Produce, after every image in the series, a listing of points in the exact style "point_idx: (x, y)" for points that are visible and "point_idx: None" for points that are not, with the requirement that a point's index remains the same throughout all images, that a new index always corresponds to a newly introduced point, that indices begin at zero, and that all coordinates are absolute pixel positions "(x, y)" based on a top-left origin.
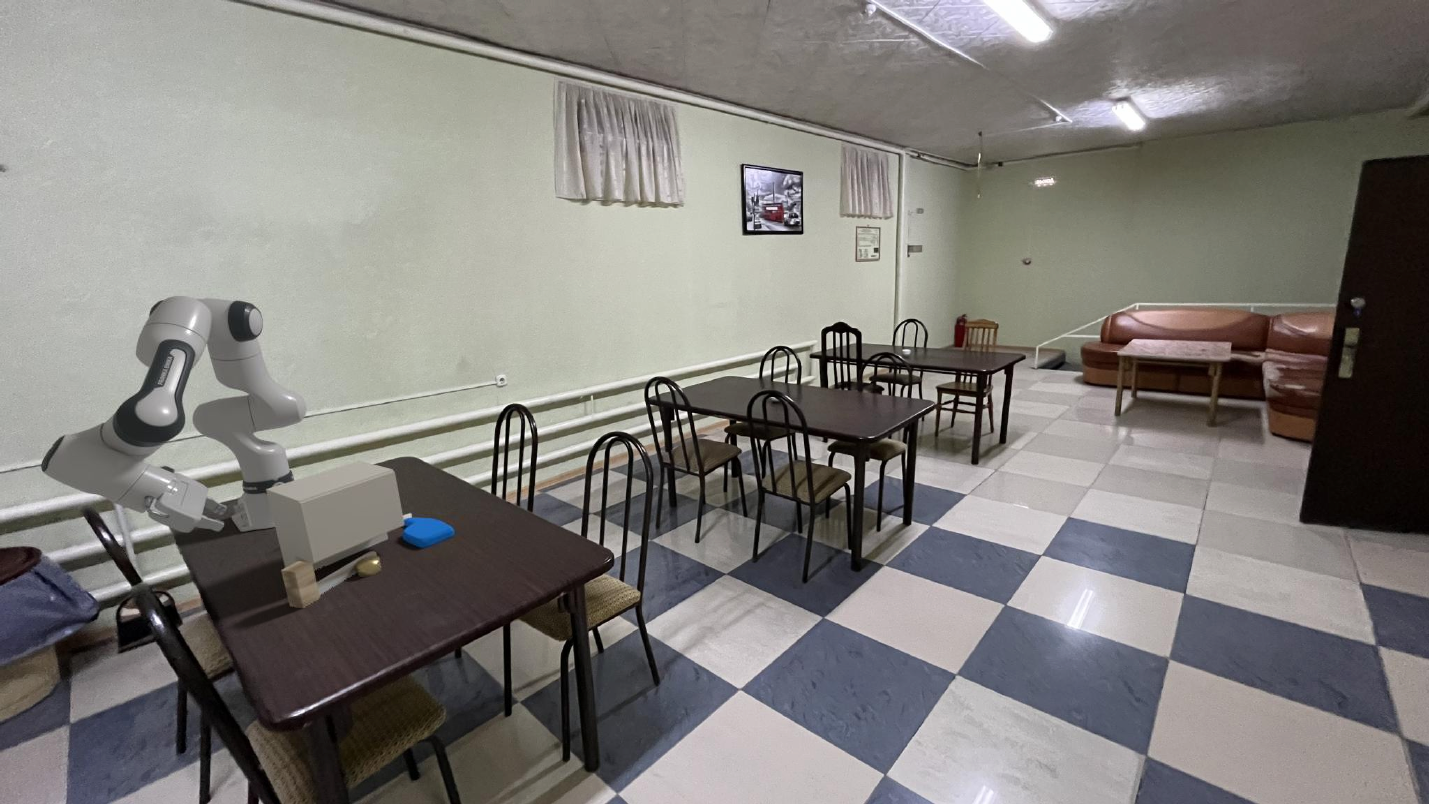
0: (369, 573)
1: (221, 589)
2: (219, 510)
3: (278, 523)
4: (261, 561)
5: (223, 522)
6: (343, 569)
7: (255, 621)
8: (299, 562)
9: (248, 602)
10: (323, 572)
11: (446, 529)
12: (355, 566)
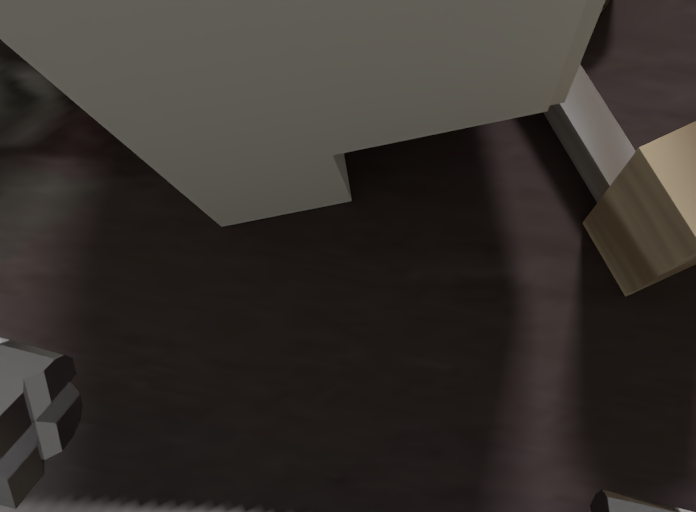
0: None
1: (157, 470)
2: (32, 431)
3: (149, 92)
4: (18, 280)
5: (639, 504)
6: None
7: (654, 439)
8: (668, 147)
9: (414, 416)
10: None
11: None
12: None
